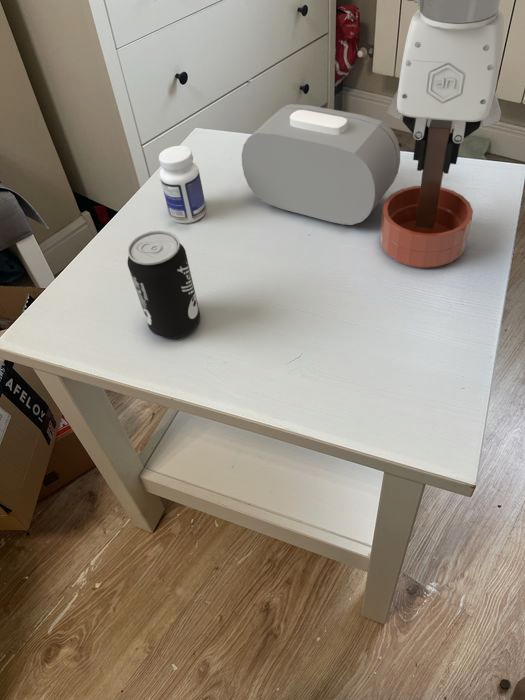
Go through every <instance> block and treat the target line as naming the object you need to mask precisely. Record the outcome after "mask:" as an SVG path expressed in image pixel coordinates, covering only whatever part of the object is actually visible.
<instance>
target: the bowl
mask: <svg viewBox="0 0 525 700" xmlns="http://www.w3.org/2000/svg"><path fill="white" fill-rule="evenodd" d="M420 187H421V185H412V186H408V187H405V188H401V189H399V190H397V191H395V192H393V193H392V194H390V195H389V196H388V197H387V198H386V199H385V201H384V203H383V206H382V211H381V223H380V235H379V241H380V245H381V248H382V250H384V252H385V253H386V254H387V255H388V256H389V257H391V258H392V259H393V260H395V261H396V262H398V263H399V264H400V263H401V265H405V266H408V267H414V268H420V269H430V268H438V267H442V266H445V265H447V264H449V263H450V264H451V263H452V262H453V261H456V260H457V259H459V257H461V255H462V254H463V253H464V252H465V250H466V247H467V242H468V237H469V233H470V229H471V224H472V219H473V214H474V210H473V207H472V205H471V203H470V201H468V200H467V199H466V198H465V197H464V195H462V194H460V193H458V192H456V191H455V190H452V189H450V188H446V187H443V186H441V190H440V196H439V202H438V207H437V213H436V219H435V223H434V227H433V229H430V228H422V227H415V222H416V215H417V208H418V201H419V194H420Z"/></svg>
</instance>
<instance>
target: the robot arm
mask: <svg viewBox="0 0 525 700" xmlns="http://www.w3.org/2000/svg"><path fill="white" fill-rule="evenodd" d="M406 1H407V2H414V3H415V4H417V7H419V9H418V10H417V11H415V13H414V14H413V15H412V17H411V20H410V23H409V26H408V31H407V34H406V39H405V44H404V49H403V54H402V60H401V61H402V62H401V67H400V74H399V81H398V88H397V90H396V91H395V93H394V95H393V97H392V98H391V100H390V102H389V104H388V106H387V108H386V112H387V114H388V115H389V116H391V117H393V118H395V119H397V120H399V121H402V123H403V124H404V125H405V127H406V128H407V129H408V130H409V131H410V132H411V133H412V136H413V139H414V140H415V142H414V150H413V158H412V160H413V161H417V168H416V171H418V172H421V171H423V168H424V161H425V154H426V147H427V138H428V131H429V126H428V122H429V120H431V119H435V120H448V121H452V122H454V125H453V128H451V132H450V137H449V141H448V143H447V148H446V154H445V160H444V165H443V171H442V172H444V173H443V174H447V175H448V174H449V171H450V168H451V165H457V162H458V158H459V154H460V153H459V152H460V146H461V143H463V141H464V139H465V138H467V137H469V136H470V135H471V134H473V133H474V132H476V131H478V130H479V129H480V128H482V127H483V128H484V127H486V126H490V125H494V124H496V123H498V122H499V121H500V120H501V116H502V111H501V107H500V104H499V99H498V95H497V91H496V88H497V82H498V77H499V71H500V64H501V59H502V53H503V45H504V36H505V35H504V33H505V18H504V13H503V11H501V10H500V9H499V8H500V3H501V0H406Z"/></svg>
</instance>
